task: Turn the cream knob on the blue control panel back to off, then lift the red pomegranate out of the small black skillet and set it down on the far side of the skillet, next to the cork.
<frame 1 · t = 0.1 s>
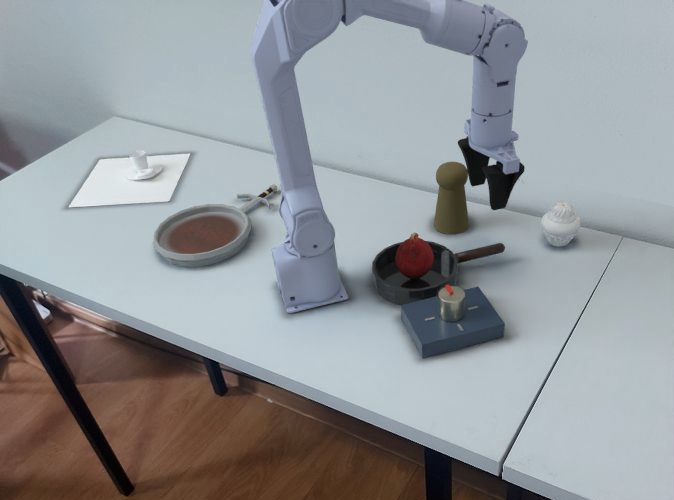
hand: (487, 196, 99), 10 cm above the table, tool pointing down, fingers open, 7 cm apart
muffin: (558, 242, 107), on the table
blue control panel: (451, 327, 93), on the table
red pomegranate: (415, 279, 102), resting on skillet
teacup and saucer: (132, 179, 134), on the table
hob knob: (451, 303, 90), point 4 cm above the table, hinge at 90.0°
skillet: (415, 279, 102), on the table
frying pan: (226, 226, 118), on the table
skillet handle: (478, 253, 102), point 2 cm above the table
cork: (451, 225, 113), on the table
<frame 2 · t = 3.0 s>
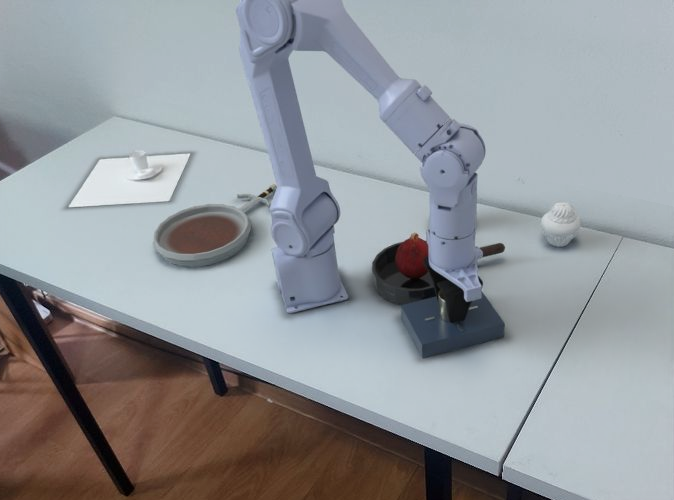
hand: (451, 311, 91), 3 cm above the table, tool pointing down, fingers closed on hob knob, 3 cm apart
hob knob: (451, 303, 90), point 4 cm above the table, hinge at 90.1°, touching gripper
everything else where it was.
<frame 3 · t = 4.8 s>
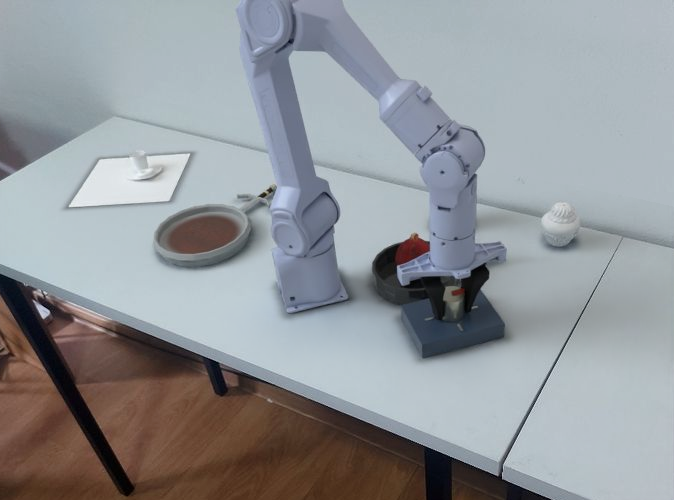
hand: (451, 311, 91), 3 cm above the table, tool pointing down, fingers closed on hob knob, 4 cm apart
hob knob: (451, 303, 90), point 4 cm above the table, hinge at 0.4°, touching gripper
everything else where it was.
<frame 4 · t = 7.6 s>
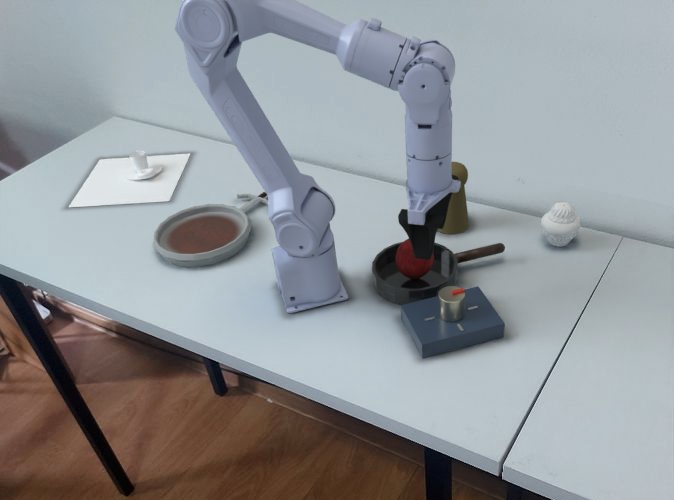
hand: (429, 241, 91), 10 cm above the table, tool pointing down, fingers open, 7 cm apart
hob knob: (451, 303, 90), point 4 cm above the table, hinge at 0.0°
everything else where it was.
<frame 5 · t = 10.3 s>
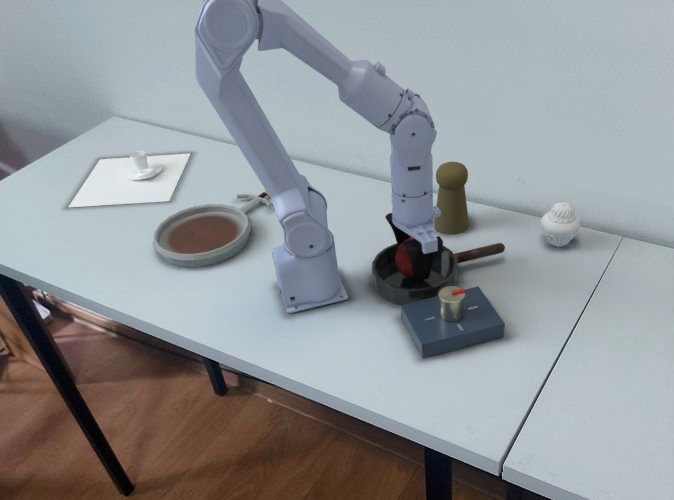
hand: (414, 267, 100), 2 cm above the table, tool pointing down, fingers closed on red pomegranate, 6 cm apart
red pomegranate: (415, 279, 102), resting on skillet, touching gripper
everything else where it was.
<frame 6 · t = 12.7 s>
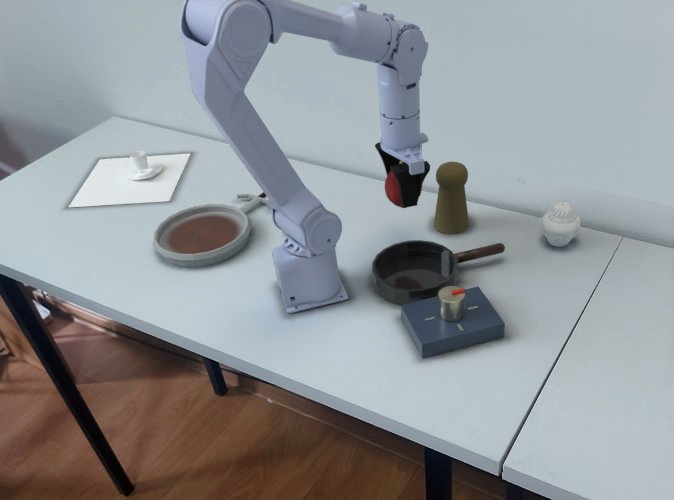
hand: (403, 196, 103), 9 cm above the table, tool pointing down, fingers closed on red pomegranate, 6 cm apart
red pomegranate: (404, 208, 104), point 7 cm above the table, touching gripper
everything else where it was.
when the fingers open (2 cm above the table, at t = 15.2 s): red pomegranate stays where it is, on the table.
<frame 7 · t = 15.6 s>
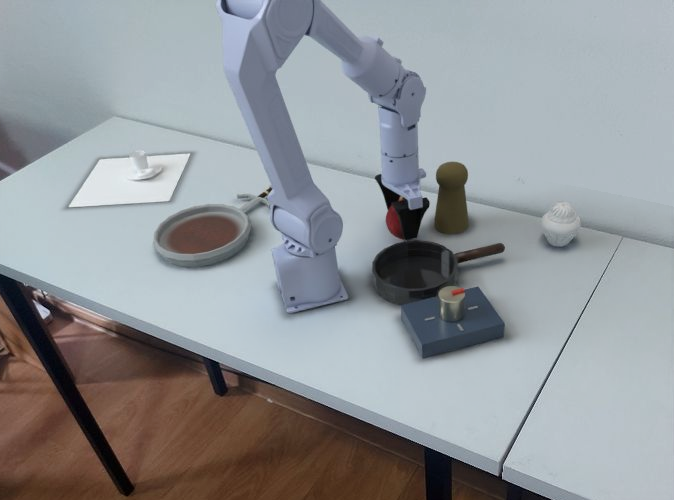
hand: (403, 226, 109), 3 cm above the table, tool pointing down, fingers open, 7 cm apart
red pomegranate: (404, 239, 111), on the table
everything else where it was.
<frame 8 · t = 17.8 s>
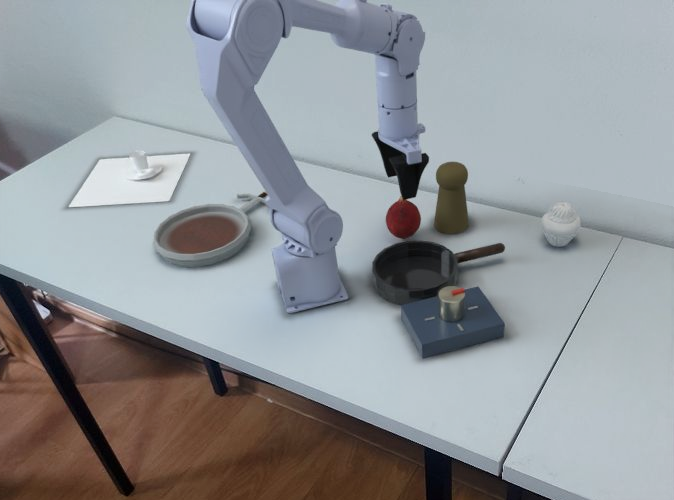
hand: (401, 186, 104), 10 cm above the table, tool pointing down, fingers open, 7 cm apart
nothing on the table moved.
at the end: hob knob at +0° (first picture: +90°); red pomegranate touching table; red pomegranate 9.0 cm from the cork (horizontally) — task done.
